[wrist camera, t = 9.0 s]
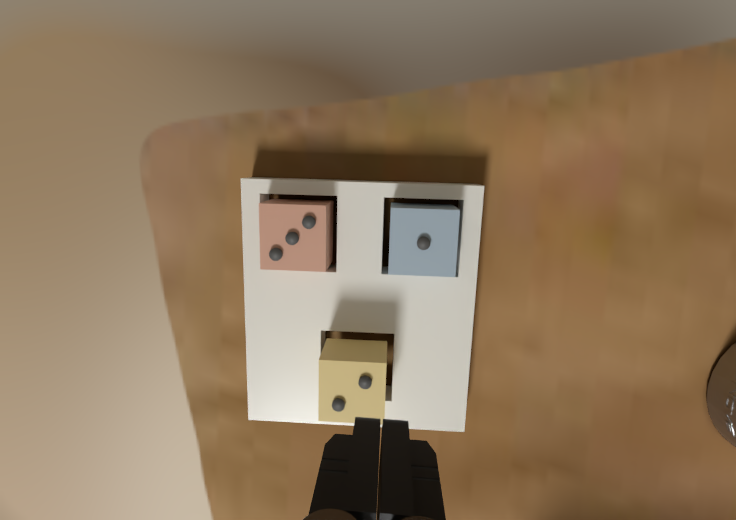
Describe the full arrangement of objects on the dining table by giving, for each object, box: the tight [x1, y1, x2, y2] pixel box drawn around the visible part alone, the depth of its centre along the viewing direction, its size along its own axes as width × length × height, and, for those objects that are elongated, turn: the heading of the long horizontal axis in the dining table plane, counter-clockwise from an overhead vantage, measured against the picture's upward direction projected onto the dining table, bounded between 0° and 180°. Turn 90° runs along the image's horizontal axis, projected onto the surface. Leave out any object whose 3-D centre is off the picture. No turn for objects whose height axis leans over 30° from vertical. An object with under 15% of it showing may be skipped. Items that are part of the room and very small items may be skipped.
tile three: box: [259, 199, 333, 272], centre depth 26 cm, size 4×4×3 cm
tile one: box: [388, 203, 460, 277], centre depth 25 cm, size 4×4×3 cm
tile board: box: [241, 177, 484, 432], centre depth 28 cm, size 14×15×2 cm
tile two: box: [318, 338, 387, 425], centre depth 26 cm, size 4×4×3 cm
